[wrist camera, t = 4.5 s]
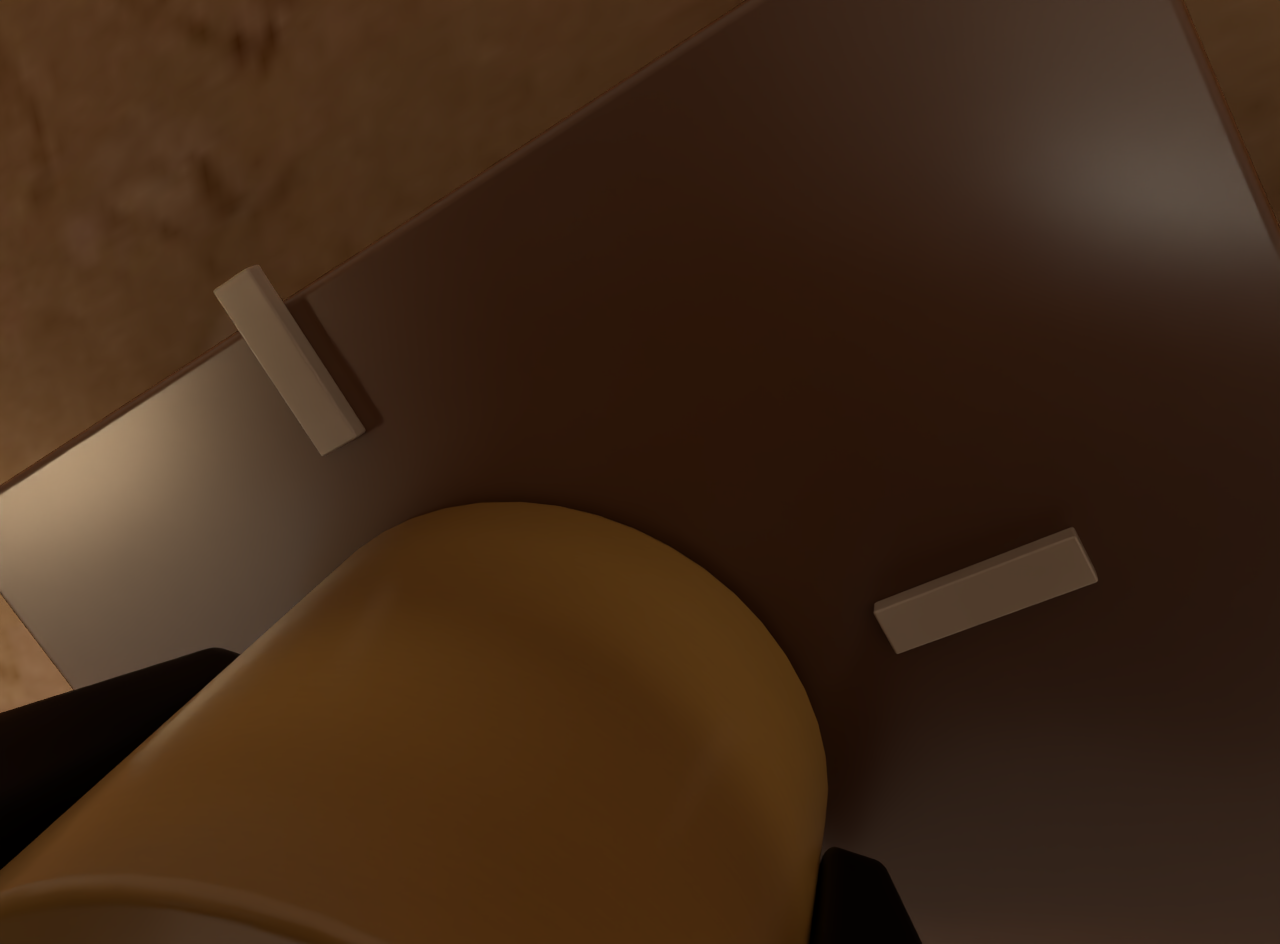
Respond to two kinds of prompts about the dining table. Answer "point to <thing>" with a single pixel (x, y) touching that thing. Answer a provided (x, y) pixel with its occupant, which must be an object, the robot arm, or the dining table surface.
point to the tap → (463, 762)
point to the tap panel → (810, 434)
